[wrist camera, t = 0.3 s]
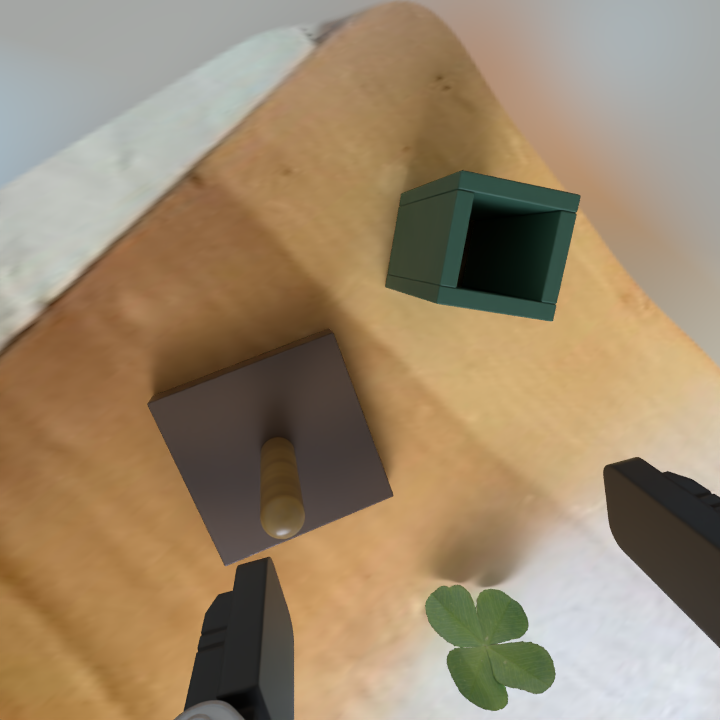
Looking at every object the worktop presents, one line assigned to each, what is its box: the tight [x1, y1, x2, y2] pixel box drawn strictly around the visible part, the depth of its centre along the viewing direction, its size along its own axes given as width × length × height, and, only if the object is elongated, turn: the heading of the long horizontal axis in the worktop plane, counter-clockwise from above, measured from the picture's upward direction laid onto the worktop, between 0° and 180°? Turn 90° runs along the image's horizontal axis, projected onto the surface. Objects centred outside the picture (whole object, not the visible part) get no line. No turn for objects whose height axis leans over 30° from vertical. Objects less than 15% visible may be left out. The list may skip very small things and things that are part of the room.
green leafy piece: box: [425, 585, 556, 711], centre depth 34 cm, size 7×8×6 cm
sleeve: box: [385, 170, 580, 321], centre depth 25 cm, size 5×5×9 cm
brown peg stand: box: [147, 329, 393, 566], centre depth 26 cm, size 10×10×9 cm
